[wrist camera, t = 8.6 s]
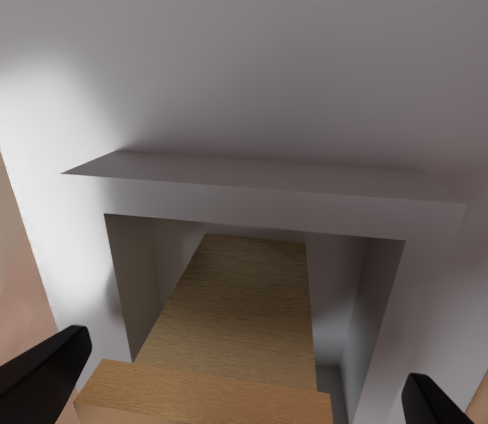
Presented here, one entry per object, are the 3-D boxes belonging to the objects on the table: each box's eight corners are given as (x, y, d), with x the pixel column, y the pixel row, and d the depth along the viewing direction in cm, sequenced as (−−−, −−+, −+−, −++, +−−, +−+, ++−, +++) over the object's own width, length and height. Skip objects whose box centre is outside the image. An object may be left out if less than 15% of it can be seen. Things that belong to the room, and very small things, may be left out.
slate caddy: (424, 455, 15) (457, 549, 12) (92, 397, 17) (50, 464, 14) (677, -57, 7) (996, -168, 4) (-35, -41, 9) (-202, -100, 6)
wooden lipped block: (292, 348, 12) (291, 615, 6) (208, 336, 13) (131, 576, 7) (308, 216, 10) (336, 449, 4) (204, 207, 10) (72, 402, 4)
